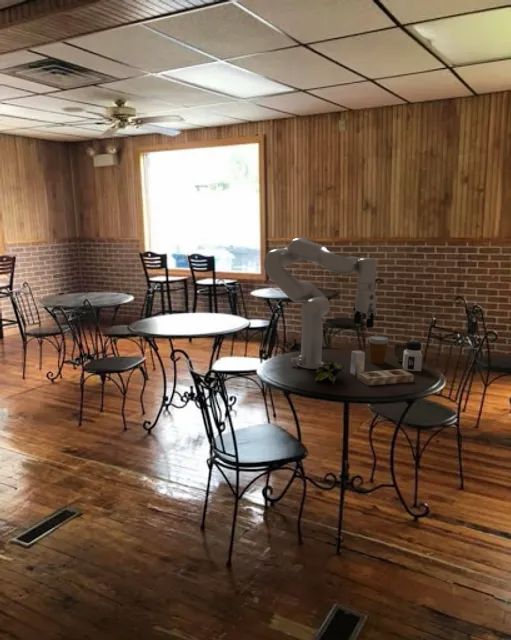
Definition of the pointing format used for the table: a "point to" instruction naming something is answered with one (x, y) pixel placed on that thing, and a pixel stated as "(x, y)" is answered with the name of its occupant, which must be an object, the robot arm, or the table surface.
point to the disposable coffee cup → (378, 348)
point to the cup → (399, 351)
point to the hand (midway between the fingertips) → (363, 325)
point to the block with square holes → (384, 377)
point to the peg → (357, 362)
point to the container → (412, 356)
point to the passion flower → (329, 370)
